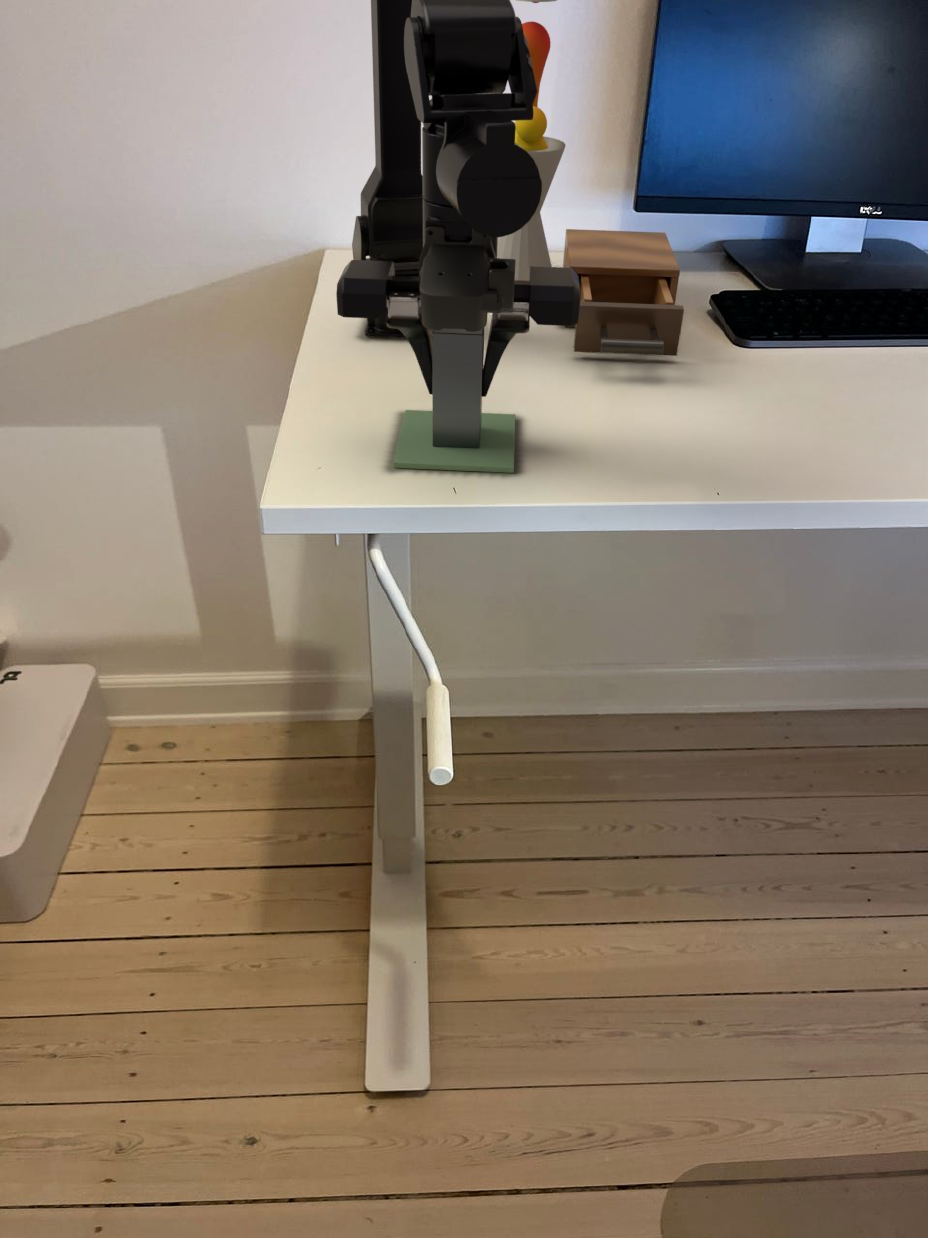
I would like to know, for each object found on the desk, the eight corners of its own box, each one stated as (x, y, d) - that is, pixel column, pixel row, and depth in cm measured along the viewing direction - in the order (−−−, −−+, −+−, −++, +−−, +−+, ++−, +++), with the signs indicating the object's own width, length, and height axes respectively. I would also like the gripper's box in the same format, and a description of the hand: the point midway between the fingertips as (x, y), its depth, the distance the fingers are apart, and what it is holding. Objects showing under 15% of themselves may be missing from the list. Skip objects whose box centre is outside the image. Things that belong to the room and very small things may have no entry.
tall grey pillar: (432, 446, 82) (432, 332, 76) (436, 425, 85) (436, 314, 79) (479, 448, 82) (483, 334, 75) (481, 427, 85) (484, 316, 79)
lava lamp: (474, 265, 121) (483, -76, 100) (542, 261, 123) (565, -75, 102) (493, 289, 114) (507, -72, 93) (565, 284, 116) (595, -71, 95)
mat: (393, 467, 80) (393, 462, 79) (405, 414, 88) (405, 409, 87) (513, 473, 79) (514, 467, 79) (515, 419, 87) (515, 414, 87)
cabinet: (670, 330, 105) (680, 269, 101) (564, 326, 105) (569, 265, 101) (657, 288, 116) (665, 232, 112) (561, 285, 116) (566, 228, 112)
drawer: (682, 374, 94) (690, 326, 91) (575, 370, 94) (580, 322, 91) (663, 311, 107) (669, 268, 104) (569, 308, 107) (573, 264, 104)
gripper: (317, 224, 65) (332, 432, 75) (592, 233, 65) (572, 443, 74) (342, 182, 74) (353, 374, 83) (585, 190, 73) (567, 382, 83)
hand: (457, 393), depth 81 cm, fingers closed on tall grey pillar, 4 cm apart
